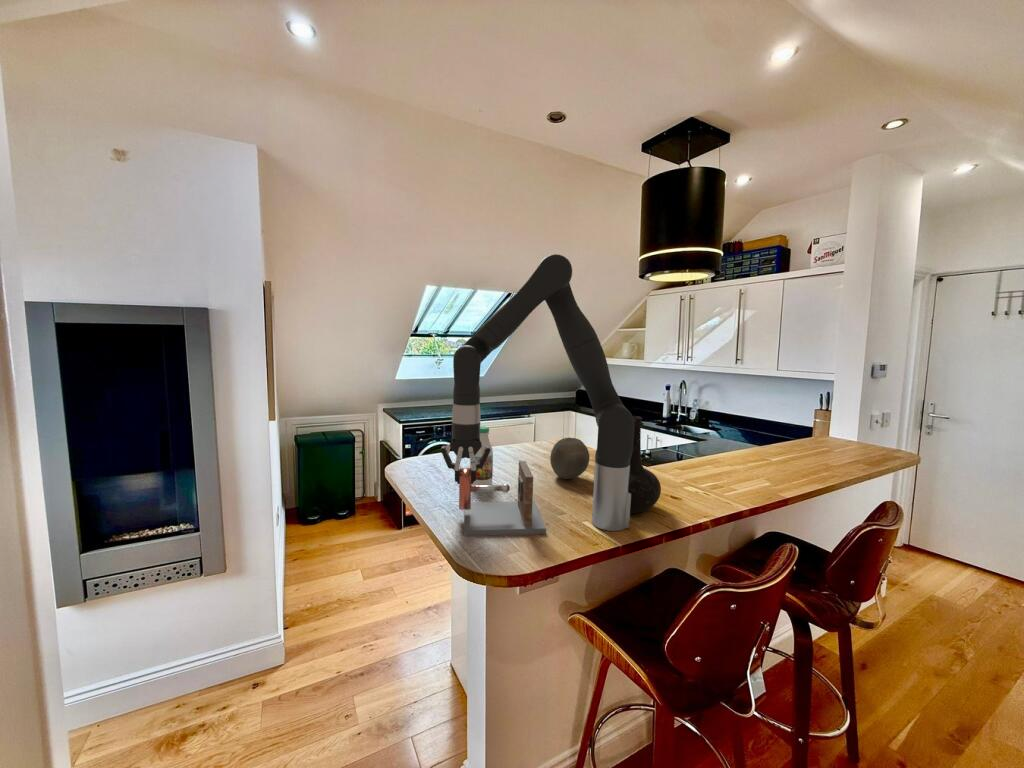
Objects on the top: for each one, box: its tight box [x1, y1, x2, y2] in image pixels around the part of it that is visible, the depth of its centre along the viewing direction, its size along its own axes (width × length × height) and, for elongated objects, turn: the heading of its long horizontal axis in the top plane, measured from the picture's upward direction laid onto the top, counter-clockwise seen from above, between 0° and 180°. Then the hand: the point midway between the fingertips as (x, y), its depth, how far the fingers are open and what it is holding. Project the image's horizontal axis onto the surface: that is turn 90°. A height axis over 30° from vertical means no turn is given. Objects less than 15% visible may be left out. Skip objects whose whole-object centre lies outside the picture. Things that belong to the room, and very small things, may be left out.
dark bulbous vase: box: [628, 415, 662, 514], centre depth 124 cm, size 18×18×28 cm
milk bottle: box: [469, 425, 494, 486], centre depth 140 cm, size 8×8×20 cm
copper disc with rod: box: [458, 467, 511, 511], centre depth 113 cm, size 14×11×11 cm
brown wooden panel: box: [517, 460, 534, 525], centre depth 114 cm, size 3×14×13 cm, turn 6°
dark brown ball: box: [549, 437, 591, 480], centre depth 149 cm, size 14×14×15 cm
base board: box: [463, 500, 547, 537], centre depth 114 cm, size 21×18×2 cm
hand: (465, 482), depth 112 cm, fingers closed on copper disc with rod, 3 cm apart
